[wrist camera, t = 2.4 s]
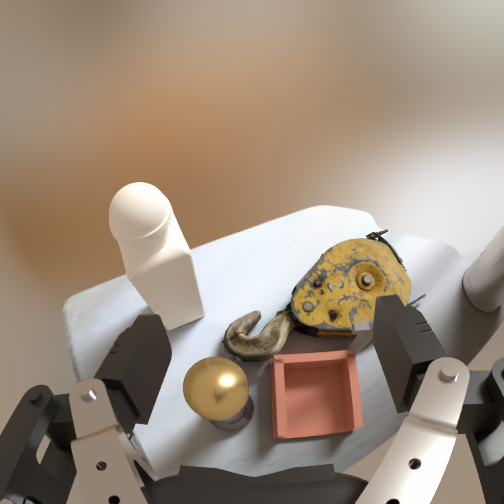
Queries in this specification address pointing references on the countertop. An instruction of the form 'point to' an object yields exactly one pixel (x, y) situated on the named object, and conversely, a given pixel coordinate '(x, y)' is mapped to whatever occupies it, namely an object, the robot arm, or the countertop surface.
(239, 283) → the countertop surface
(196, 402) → the tie-down post
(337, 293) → the pulley block
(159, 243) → the white square bottle
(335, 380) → the keeper bracket
